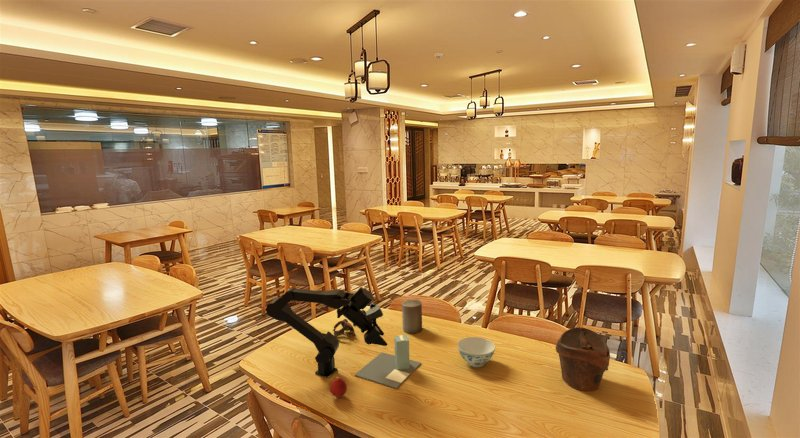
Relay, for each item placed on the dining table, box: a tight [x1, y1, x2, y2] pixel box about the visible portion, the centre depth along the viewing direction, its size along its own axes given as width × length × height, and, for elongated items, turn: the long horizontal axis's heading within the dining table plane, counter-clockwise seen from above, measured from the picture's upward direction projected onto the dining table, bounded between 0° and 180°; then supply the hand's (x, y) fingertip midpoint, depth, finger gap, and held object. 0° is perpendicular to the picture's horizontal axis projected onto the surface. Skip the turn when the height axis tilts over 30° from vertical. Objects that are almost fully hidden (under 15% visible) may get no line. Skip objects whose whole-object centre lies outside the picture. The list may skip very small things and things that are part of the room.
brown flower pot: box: [555, 327, 611, 392], centre depth 146 cm, size 18×20×18 cm
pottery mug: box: [332, 318, 356, 337], centre depth 190 cm, size 12×10×8 cm
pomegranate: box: [329, 376, 348, 399], centre depth 140 cm, size 6×6×8 cm
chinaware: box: [457, 336, 496, 368], centre depth 162 cm, size 15×15×8 cm
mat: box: [354, 351, 422, 390], centre depth 159 cm, size 20×19×1 cm
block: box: [393, 334, 410, 370], centre depth 159 cm, size 5×5×12 cm
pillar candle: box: [401, 298, 423, 334], centre depth 194 cm, size 10×10×15 cm
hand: (385, 339), depth 157 cm, fingers open, 9 cm apart
